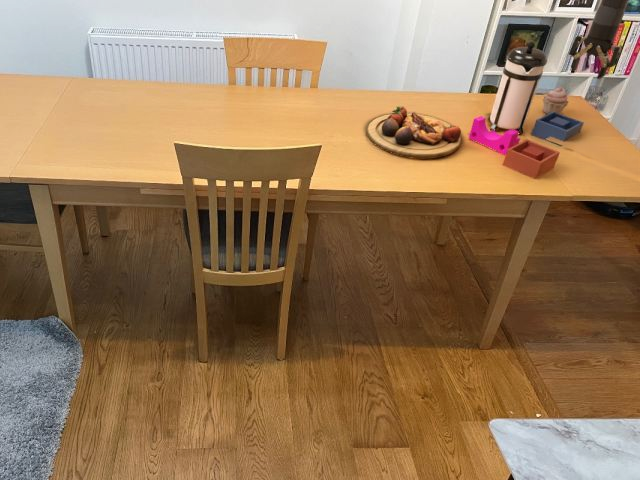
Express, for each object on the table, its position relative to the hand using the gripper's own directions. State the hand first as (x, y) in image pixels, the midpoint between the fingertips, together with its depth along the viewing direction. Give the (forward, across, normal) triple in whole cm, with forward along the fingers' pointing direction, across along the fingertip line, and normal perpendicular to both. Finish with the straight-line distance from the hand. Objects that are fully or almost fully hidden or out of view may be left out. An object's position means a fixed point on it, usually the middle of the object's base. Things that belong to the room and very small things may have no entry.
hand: (586, 74), depth 188 cm
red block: (+24, +2, -24) cm, 34 cm away
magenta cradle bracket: (+24, -14, -20) cm, 34 cm away
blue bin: (+24, -4, +4) cm, 25 cm away
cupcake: (+24, -15, +22) cm, 36 cm away
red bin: (+24, +2, -24) cm, 34 cm away
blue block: (+24, -4, +4) cm, 24 cm away
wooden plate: (+24, -34, -38) cm, 56 cm away
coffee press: (+24, -20, -3) cm, 32 cm away
